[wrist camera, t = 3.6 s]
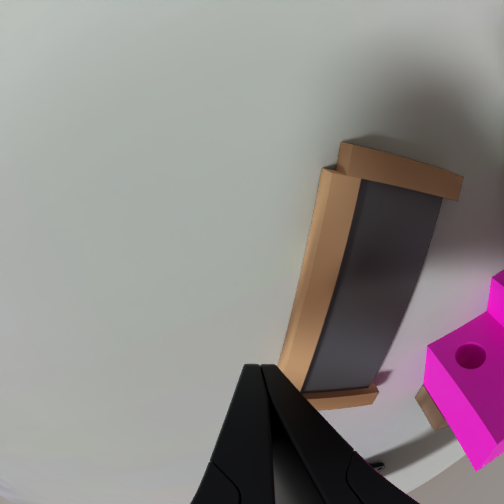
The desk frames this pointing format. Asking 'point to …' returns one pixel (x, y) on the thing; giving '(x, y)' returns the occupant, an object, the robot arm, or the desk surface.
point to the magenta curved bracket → (472, 379)
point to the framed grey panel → (361, 274)
